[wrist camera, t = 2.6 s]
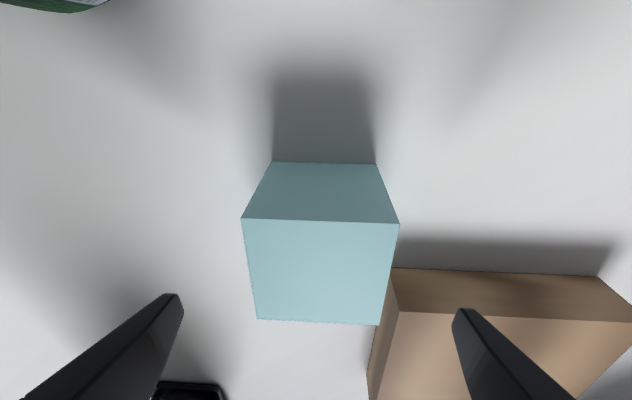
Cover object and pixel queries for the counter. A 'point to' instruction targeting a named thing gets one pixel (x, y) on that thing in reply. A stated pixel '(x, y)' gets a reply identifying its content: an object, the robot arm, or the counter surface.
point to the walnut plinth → (505, 315)
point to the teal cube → (320, 243)
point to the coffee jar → (56, 4)
